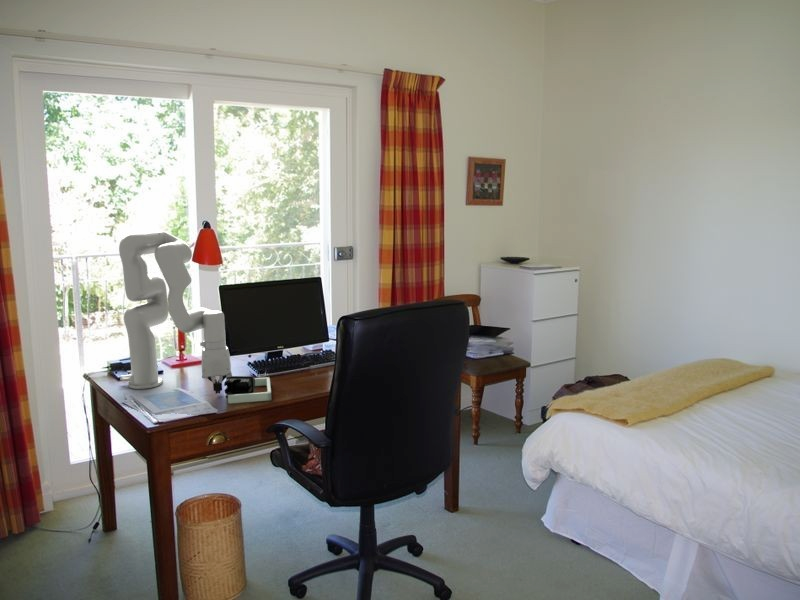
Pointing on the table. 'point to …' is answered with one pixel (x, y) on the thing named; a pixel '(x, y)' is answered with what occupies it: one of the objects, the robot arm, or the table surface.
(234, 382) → the end cap
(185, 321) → the robot arm
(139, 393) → the table surface
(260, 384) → the holder
